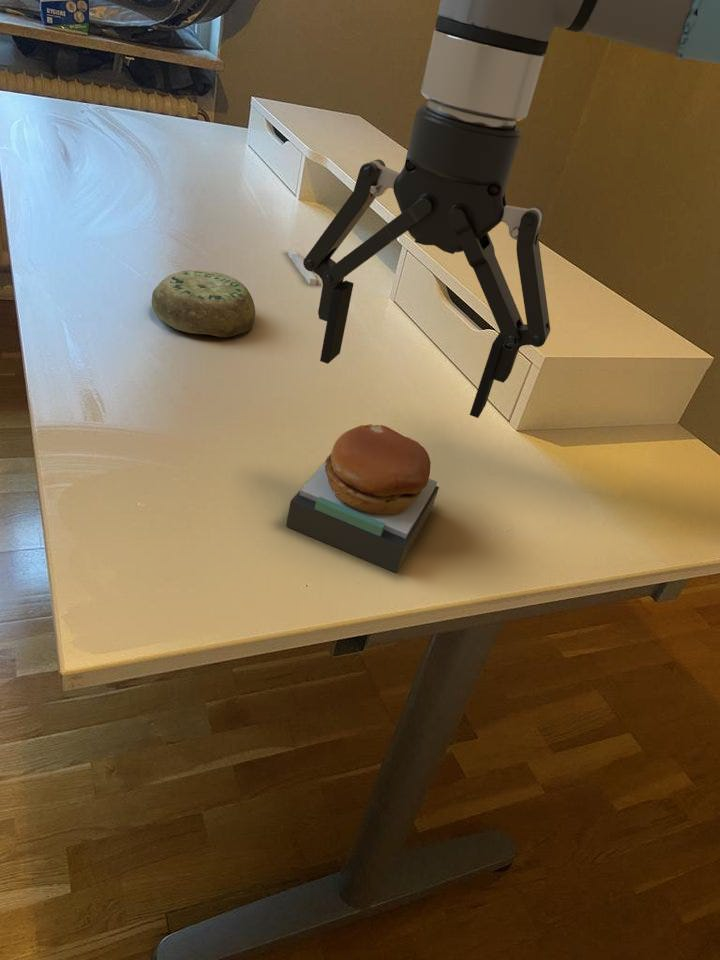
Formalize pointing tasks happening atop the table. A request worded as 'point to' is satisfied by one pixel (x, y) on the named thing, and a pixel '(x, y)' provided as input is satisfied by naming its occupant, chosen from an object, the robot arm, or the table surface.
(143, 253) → the table surface
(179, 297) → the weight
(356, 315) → the table surface
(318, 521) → the scale
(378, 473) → the burger
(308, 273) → the light grey bar
